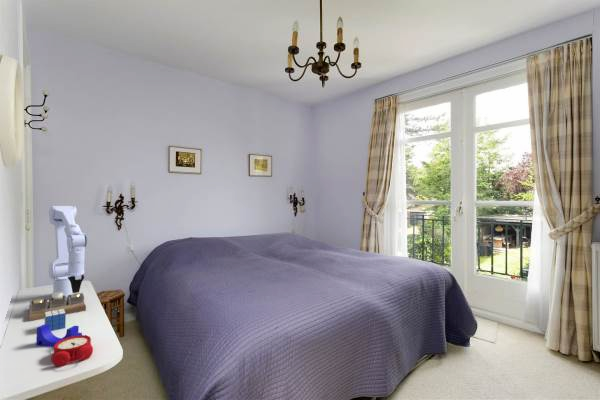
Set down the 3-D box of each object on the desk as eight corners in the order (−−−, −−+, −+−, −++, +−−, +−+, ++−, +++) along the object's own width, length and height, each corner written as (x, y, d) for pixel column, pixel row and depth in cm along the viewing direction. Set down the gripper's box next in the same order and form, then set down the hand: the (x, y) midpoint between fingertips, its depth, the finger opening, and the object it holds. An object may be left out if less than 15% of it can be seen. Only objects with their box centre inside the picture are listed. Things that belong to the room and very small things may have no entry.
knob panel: (29, 309, 129) (29, 297, 129) (80, 300, 141) (81, 289, 141) (29, 321, 117) (29, 308, 117) (85, 310, 129) (86, 298, 129)
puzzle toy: (63, 323, 116) (64, 308, 116) (65, 328, 112) (65, 312, 112) (44, 327, 112) (44, 312, 112) (45, 332, 108) (45, 316, 108)
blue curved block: (81, 341, 103) (82, 324, 103) (70, 348, 98) (71, 329, 98) (48, 339, 103) (49, 322, 103) (36, 345, 99) (36, 327, 99)
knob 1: (33, 307, 125) (33, 299, 125) (43, 305, 127) (43, 298, 127) (33, 309, 123) (33, 302, 123) (44, 307, 125) (44, 300, 125)
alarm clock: (91, 331, 102) (95, 337, 91) (91, 351, 101) (95, 360, 90) (51, 340, 96) (51, 347, 84) (51, 361, 95) (50, 372, 83)
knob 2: (70, 300, 134) (70, 294, 133) (79, 299, 136) (80, 292, 136) (71, 303, 131) (71, 296, 131) (80, 301, 133) (81, 294, 133)
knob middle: (52, 299, 129) (52, 292, 129) (62, 297, 132) (62, 291, 132) (52, 301, 127) (53, 294, 127) (63, 299, 129) (63, 292, 129)
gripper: (63, 260, 136) (62, 290, 136) (66, 266, 125) (65, 298, 125) (82, 258, 141) (82, 287, 141) (87, 263, 130) (86, 295, 130)
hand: (75, 292), depth 133 cm, fingers closed
